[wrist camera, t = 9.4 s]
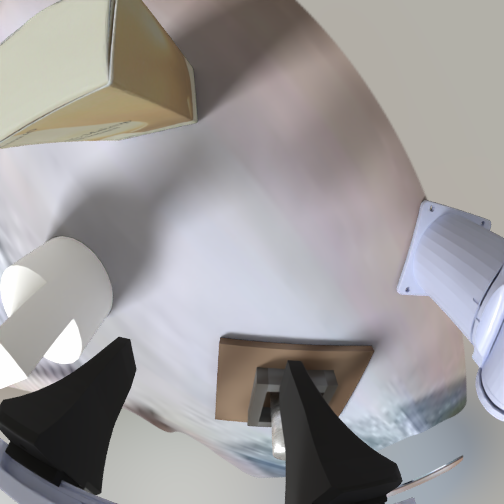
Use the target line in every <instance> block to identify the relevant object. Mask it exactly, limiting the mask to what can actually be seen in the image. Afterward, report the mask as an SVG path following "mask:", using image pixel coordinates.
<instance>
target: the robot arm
mask: <svg viewBox="0 0 504 504" xmlns="http://www.w3.org/2000/svg"><path fill="white" fill-rule="evenodd" d="M431 206H432V209H431V210H430V207H431ZM481 223H482V224H481ZM490 228H491V221H490V220H488V219H485V218H482V217H479V216H476V215H473V214H470V213H467V212H464V211H461V210H458V209H455V208H451V207H448V206H445V205H442V204H438V203H435V202H431V201H428V200H424V201H423V202H422V203H421V206H420V210H419V214H418V219H417V223H416V227H415V230H414V234H413V238H412V241H411V245H410V248H409V252H408V255H407V258H406V262H405V265H404V268H403V271H402V274H401V277H400V280H399V283H398V286H397V291H398V293H399V294H404V295H422V296H430V297H431V298H432V299H433V300H434V301H435V303H436V304H437V305H438V306H439V307H440V308H441V309H442V310H443V311H444V312H445V313H446V314H447V316H448V317H449V318H450V319H451V320H452V321H453V322H454V323H455V325H456V326H457V327H458V328H459V329H460V330H461V331H462V333H463V334H464V335H465V336H466V337H467V338H468V340H469V341H470V342H471V343H472V344H473V345H474V353H473V355H472V358H473V359H474V361H475V362H476V363H477V365H478V366H479V370H478V372H477V376H476V391H477V394H478V397H479V399H480V401H481V403H482V404H483V406H484V408H485V409H486V410H487V411H488V412H489V413H490V414H491V415H493V416H494V417H496V418H497V419H499V420H501V421H504V238H503V237H501V236H499V235H497V234H495V233H493V232H491V231H490ZM407 287H408V289H407V290H406V288H407ZM135 372H136V365H135V361H134V356H133V351H132V346H131V341H130V339H127V338H122V337H118V338H117V339H115V340H114V341H113V342H112V343H110V344H109V345H108V346H107V347H105V348H104V349H103V350H102V351H101V352H99V353H98V354H97V355H96V356H94V357H93V358H92V359H90V360H89V361H88V362H87V363H85V364H84V365H82V366H81V367H80V368H78V369H77V370H75V371H74V372H72V373H71V374H69V375H68V376H66V377H64V378H63V379H61V380H59V381H57V382H55V383H53V384H51V385H49V386H47V387H45V388H42V389H40V390H38V391H35V392H32V393H29V394H26V395H23V396H20V397H15V398H11V399H6V400H3V401H2V403H1V404H0V430H1V431H2V432H3V434H4V435H5V436H6V437H7V438H8V439H9V440H10V443H9V445H8V444H7V443H6V442H4V441H3V440H2V439H1V438H0V489H1V490H2V491H3V492H5V493H6V494H7V495H8V496H9V497H11V498H12V499H13V500H14V501H16V502H17V503H18V504H117V503H114V502H111V501H109V500H106V499H103V498H101V497H98V496H96V495H98V494H100V493H101V489H102V480H103V479H102V478H103V471H104V466H105V460H106V455H107V451H108V446H109V442H110V438H111V435H112V431H113V428H114V425H115V422H116V420H117V418H118V415H119V413H120V411H121V409H122V406H123V404H124V402H125V400H126V397H127V395H128V393H129V391H130V388H131V386H132V382H133V379H134V376H135ZM279 408H280V415H281V423H282V430H283V437H284V444H285V454H286V491H285V504H385V503H384V502H386V501H387V496H386V494H388V493H389V492H391V491H392V490H394V489H395V488H397V487H398V486H399V485H400V484H401V482H402V478H401V474H400V471H399V469H398V466H397V464H396V463H394V462H393V461H391V460H389V459H388V458H386V457H384V456H382V455H381V454H379V453H378V452H376V451H375V450H374V449H372V448H371V447H369V446H368V445H367V444H366V443H364V442H363V441H362V440H361V439H360V438H359V437H357V436H356V435H355V434H354V433H353V432H352V431H351V430H350V429H349V428H348V427H347V426H346V425H345V424H344V423H343V422H342V421H341V420H340V419H339V417H338V416H337V415H336V414H335V413H334V411H333V410H332V409H331V407H330V406H329V405H328V403H327V402H326V401H325V399H324V398H323V396H322V395H321V393H320V392H319V390H318V389H317V387H316V386H315V384H314V382H313V381H312V379H311V377H310V376H309V374H308V372H307V370H306V368H305V367H304V365H303V363H302V362H301V361H293V360H287V364H286V367H285V371H284V374H283V378H282V381H281V384H280V388H279ZM79 488H80V489H79ZM88 492H89V493H88ZM395 504H416V503H415V499H414V498H410V499H407V500H404V501H401V502H398V503H395Z"/></svg>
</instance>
